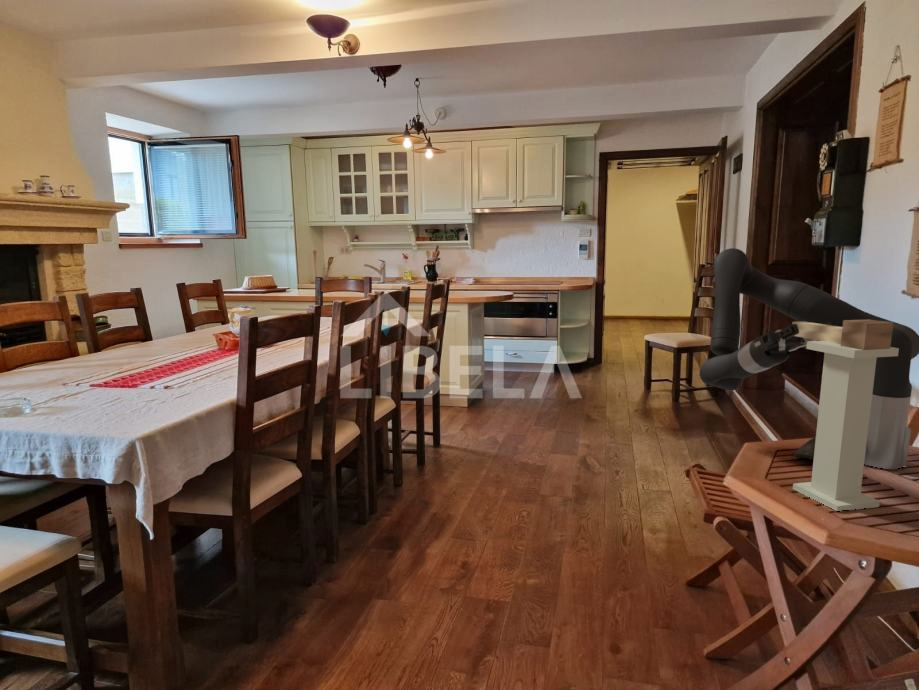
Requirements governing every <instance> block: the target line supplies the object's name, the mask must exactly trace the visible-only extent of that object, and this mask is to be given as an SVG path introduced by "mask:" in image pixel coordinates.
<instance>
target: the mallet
mask: <svg viewBox="0 0 919 690" xmlns="http://www.w3.org/2000/svg"><path fill="white" fill-rule="evenodd" d="M893 322H894V321H892V322H885V321H877V320H843V327H839V326H832V325H825V324H818V323H811V322H799V321H792V322H791V323H792V324H797V326H798V329H799V333H798V334H796V335H795V336H797V337H800V338H802V337H803V338H808V339H814V340H819V341H825V342H830V343H836V344H841V346H844V347H850V348H855V349H861V350H876V349H890V347H891V338H892V330H893Z"/></svg>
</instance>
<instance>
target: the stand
mask: <svg viewBox="0 0 919 690" xmlns="http://www.w3.org/2000/svg"><path fill="white" fill-rule="evenodd" d="M805 350H811V351H816V352H821V353H824V355H823V366H822V374H821V382H820V383H821V385H820V394H819V401H818V402H819V404H818V413H817V422H816V423H817V424H816V433H815V437H816V441H815V451H814V460H813V459H812V460H813V461H812V462H813V463H812V471H811V472H812V473H811V481H806V482H795V483H793V484H792V490H794V491H796V492H797V493H800V494H801V495H803V494H804V495H803V496H805V497H807V498H809V497H810V499H811V500H813V499H814V500H813V501H815V500H816V501H815V502H817V501H818V502H817V503H819V502H820V503H819V504H821V503H822V504H821V505H823V504H824V505H823V506H824V507H826V506H828V507H830V508H832V509H834V510H836V511H840V512H843V511H842V510H849V511H856V510H865V509H864V508H866V509H874V508H879V507H880V502H881V501H880V500H879V499H876V498H873V497H872V496H869V495H867V494H866V493H863V492H862V483H863V476H864V474H863V473H864V469H865V468H864V467H865V465H864V460H865V452H866V443H867V435H868V426H869V418H870V409H871V401H872V392H873V384H874V376H875V367H876V359H877V357H892V356H898V352H899V348H894V347H890V349H876V350H861V349H855V348H850V347H844V346H841V344H836V343H830V342H825V341H808V342H807V347H806V349H805ZM828 507H827V508H828ZM830 508H829V509H830ZM832 509H831V510H832ZM855 509H856V510H855ZM834 510H833V511H834ZM836 511H835V512H836Z"/></svg>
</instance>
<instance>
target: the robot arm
mask: <svg viewBox="0 0 919 690" xmlns="http://www.w3.org/2000/svg"><path fill="white" fill-rule="evenodd" d="M751 263H752V262H751V261H750V258H749V257H748V255H747V254H746V253H745V252H744V251H742V250H741V249H738V248H734V247H731V248H726V249H724V250H722V251H720V252H719V253H718V254H717V256H716V257H715V258H714V262H713V275H714V288H715V289H714V293H715V296H714V309H713V319H712V325H711V326H712V328H711V336H710V344H709V348H710V349H709V350H710V351H711V353H713V354H715V355H716V356H714V357H711V358H709V359H707V360H706V361H705V362H703V364H702V365H701V367H700V368H699V378H700V381H702V383H704V384H706V385H708V386H711V387H715V388H718V389H722V390H726V391H731V392H732V391H735V390H737V389H738V388H740V386H741V385H742V383H743V381H744V379H746V378H749V377H752V376H755V375H756V374H758V373H761V372H764V371H767V370H769V369H772V368H773V367H775V366H778V365H780V364H783V363H784V362H786V361H787V360H788V359H789V357H790V354H791V352H793V351H796V350H798V349H800V348H803V349H805V350H807V349H806V347H807V342H808V341H819V340H814V339H808V338H803V337H797V336H795V335H796V334H798V333H799V329H798V326H797V324H790V325H788V326H786V327H784V328H782V329H777V330H776V331H774V332H773V331H772V330H769V331H767V332H765V333H764V334H762V335H760V336H758V337H757V338H755V339H753V340H751V341H749V342H748V343H746V344H745V345H743V347H741V348H740V339H741V327H742V324H741V323H742V322H741V321H742V320H741V306H740V305H741V302H740V301H741V297H740V296H741V295H744V296H747V297H750V298H752V299H755V300H757V301H759V302H761V303H763V304H764V305H766V306H768V307H770V308H772V309H773V310H775V311H778V312H780V313H782V314H783V315H785V316H787V317H789V318H791V319H793V320H796V322H811V323H818V324H825V325H832V326H839V327H843V320H877V321H885V322H893V330H892V338H891V347H894V348H899V352H898V356H892V357H877V359H876V367H875V376H874V384H873V392H872V401H871V409H870V418H869V426H868V435H867V443H866V452H865V460H864V464H865V465H864V466H867V465H869V466H868V467H870V466H873V467H872V468H875V467H877V468H876V469H880V468H883V469H882V470H899V469H898V468H900V467H903V466H906V467H907V465H908V457H909V450H910V449H909V448H910V443H911V442H910V441H911V433H912V429H911V428H910V427H909V426H908V421H909V413H910V405H911V399H912V398H911V397H912V393H913V392H912V391H913V390H912V389H913V386H912V383H911V382H910V372H911V363H912V360H914V358H916V357H918V355H919V334H918V333H917V332H916V331H915V330H914V329H913V328H912V327H909V326H907V325H904V324H902V323H899V322H895V321H892V320H889V319H886V318H883V317H880V316H877V315H874V314H872V313H869V312H866V311H864V310H862V309H859V308H858V307H856V306H854V305H852V304H850V303H848V302H847V301H844V300H842V299H840V298H838V297H836V296H834V295H832V294H830V293H827V292H826V291H825V290H822V289H819V288H817V287H815V286H812V285H810V284H808V283H804V282H801V281H797V280H790V279H789V280H788V279H781V278H780V279H779V278H776V277H772V276H771V275H768V274H766V273H764V272H762V271H760V270H758V269H757V268H755V267H754V266H753V265H752V264H751ZM900 469H901V468H900Z"/></svg>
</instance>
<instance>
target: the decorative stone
mask: <svg viewBox="0 0 919 690" xmlns="http://www.w3.org/2000/svg"><path fill="white" fill-rule="evenodd" d="M815 441H816V436H815V437H813V438H811V439H810V440H807V442H805V443H804V444H802V445H801V446H799V448H798V449H797V450H796V451H795V453H794V454H793V456H794V457H796V458H804V459H809V460H814V451H815Z"/></svg>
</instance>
